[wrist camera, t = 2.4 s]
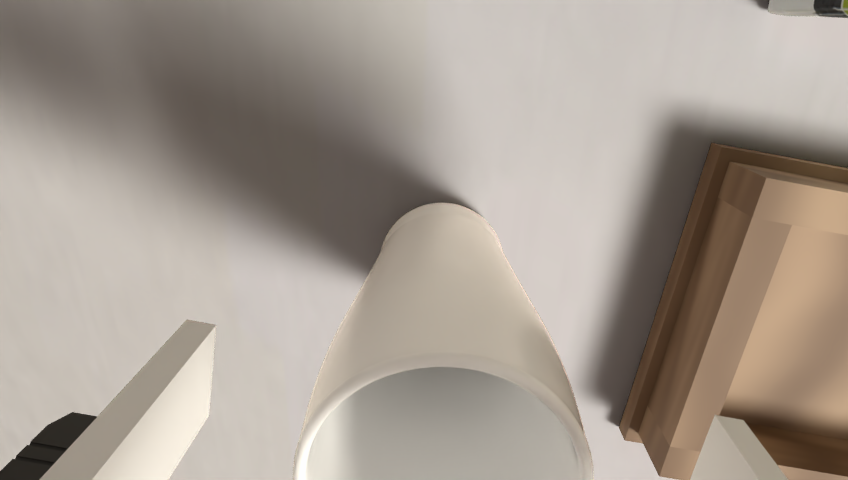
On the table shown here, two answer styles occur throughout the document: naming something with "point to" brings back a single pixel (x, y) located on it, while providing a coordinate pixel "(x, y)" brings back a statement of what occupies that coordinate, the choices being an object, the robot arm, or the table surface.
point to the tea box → (809, 8)
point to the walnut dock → (752, 319)
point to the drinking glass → (442, 369)
